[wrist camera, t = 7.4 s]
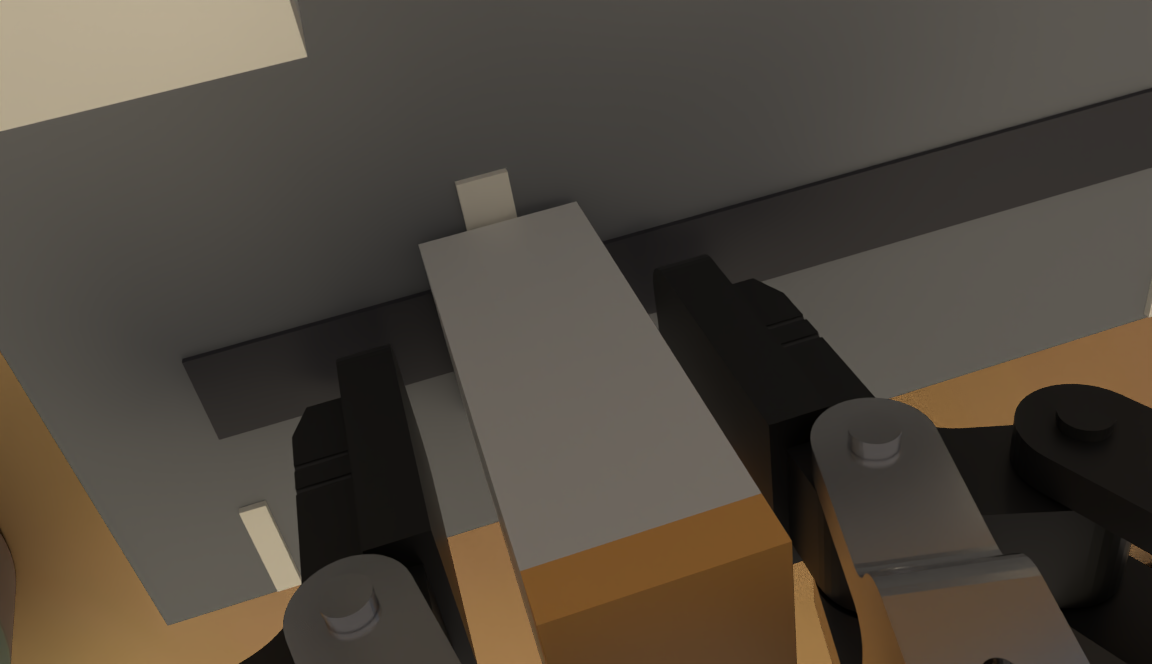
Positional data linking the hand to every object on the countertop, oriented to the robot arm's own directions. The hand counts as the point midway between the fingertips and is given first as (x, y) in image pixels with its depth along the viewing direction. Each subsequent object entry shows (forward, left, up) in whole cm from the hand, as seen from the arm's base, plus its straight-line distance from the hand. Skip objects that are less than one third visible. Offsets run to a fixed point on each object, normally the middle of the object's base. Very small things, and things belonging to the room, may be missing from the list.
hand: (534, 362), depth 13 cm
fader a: (0, 0, -1) cm, 1 cm away
